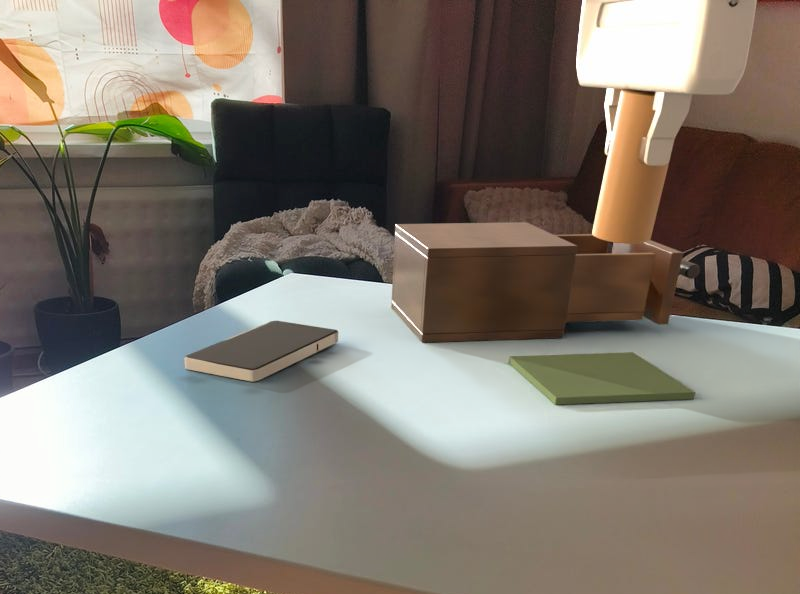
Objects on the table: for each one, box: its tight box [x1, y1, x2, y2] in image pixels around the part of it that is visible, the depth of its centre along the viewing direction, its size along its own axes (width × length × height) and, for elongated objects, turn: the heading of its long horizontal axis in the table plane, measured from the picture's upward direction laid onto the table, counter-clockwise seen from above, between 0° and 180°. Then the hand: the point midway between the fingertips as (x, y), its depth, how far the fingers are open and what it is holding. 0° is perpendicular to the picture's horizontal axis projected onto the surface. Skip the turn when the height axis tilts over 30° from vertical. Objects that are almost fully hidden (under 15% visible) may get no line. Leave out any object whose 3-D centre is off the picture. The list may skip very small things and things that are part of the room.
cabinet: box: [390, 221, 577, 343], centre depth 92 cm, size 15×15×9 cm
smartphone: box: [183, 320, 339, 383], centre depth 83 cm, size 8×1×15 cm
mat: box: [508, 351, 696, 406], centre depth 78 cm, size 12×12×1 cm
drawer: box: [554, 233, 701, 325], centre depth 94 cm, size 18×13×7 cm
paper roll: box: [591, 89, 676, 244], centre depth 69 cm, size 5×5×10 cm
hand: (634, 161), depth 68 cm, fingers closed on paper roll, 5 cm apart
